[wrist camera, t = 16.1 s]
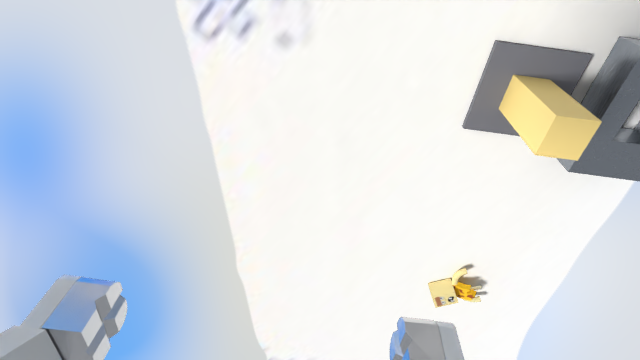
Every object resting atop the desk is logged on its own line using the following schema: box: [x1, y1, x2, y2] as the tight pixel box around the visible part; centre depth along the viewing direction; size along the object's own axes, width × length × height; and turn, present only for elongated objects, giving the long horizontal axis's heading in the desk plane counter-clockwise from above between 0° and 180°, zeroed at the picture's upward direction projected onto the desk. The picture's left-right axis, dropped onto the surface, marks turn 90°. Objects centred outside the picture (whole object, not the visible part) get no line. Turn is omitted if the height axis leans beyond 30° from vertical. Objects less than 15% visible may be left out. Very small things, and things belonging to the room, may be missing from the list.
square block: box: [499, 75, 602, 161], centre depth 37 cm, size 4×4×10 cm
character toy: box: [428, 268, 482, 307], centre depth 59 cm, size 8×3×8 cm
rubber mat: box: [463, 40, 593, 136], centre depth 41 cm, size 10×10×1 cm
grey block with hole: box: [557, 37, 640, 181], centre depth 40 cm, size 14×10×4 cm
